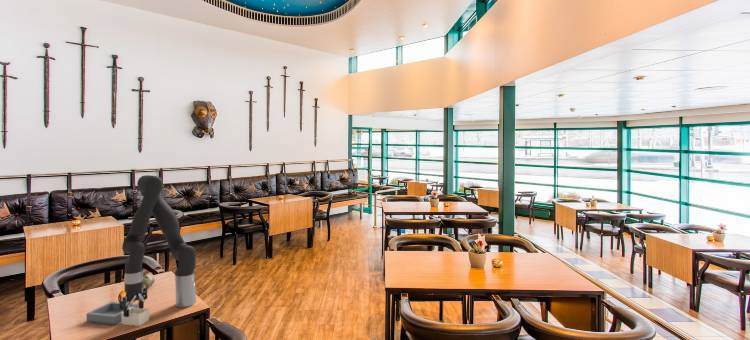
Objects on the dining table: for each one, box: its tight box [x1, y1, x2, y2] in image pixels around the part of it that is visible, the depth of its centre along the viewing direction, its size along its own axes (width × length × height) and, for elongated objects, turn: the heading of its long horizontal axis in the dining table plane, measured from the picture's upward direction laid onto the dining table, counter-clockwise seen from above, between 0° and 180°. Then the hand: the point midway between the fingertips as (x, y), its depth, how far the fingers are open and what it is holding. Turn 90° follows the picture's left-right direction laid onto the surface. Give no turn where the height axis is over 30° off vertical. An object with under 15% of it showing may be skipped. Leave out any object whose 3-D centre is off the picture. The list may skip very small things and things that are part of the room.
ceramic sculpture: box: [143, 272, 156, 290], centre depth 223 cm, size 11×9×15 cm
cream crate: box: [121, 307, 150, 327], centre depth 181 cm, size 6×10×6 cm, turn 80°
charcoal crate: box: [85, 301, 138, 326], centre depth 186 cm, size 14×16×4 cm
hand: (133, 313), depth 181 cm, fingers open, 8 cm apart
